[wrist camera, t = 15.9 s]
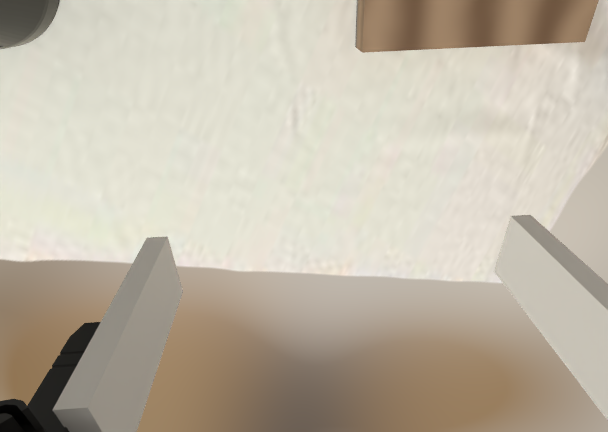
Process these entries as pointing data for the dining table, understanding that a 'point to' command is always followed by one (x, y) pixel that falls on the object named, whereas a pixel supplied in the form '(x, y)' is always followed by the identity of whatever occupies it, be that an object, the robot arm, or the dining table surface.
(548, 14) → the body
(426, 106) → the dining table surface
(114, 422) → the robot arm
